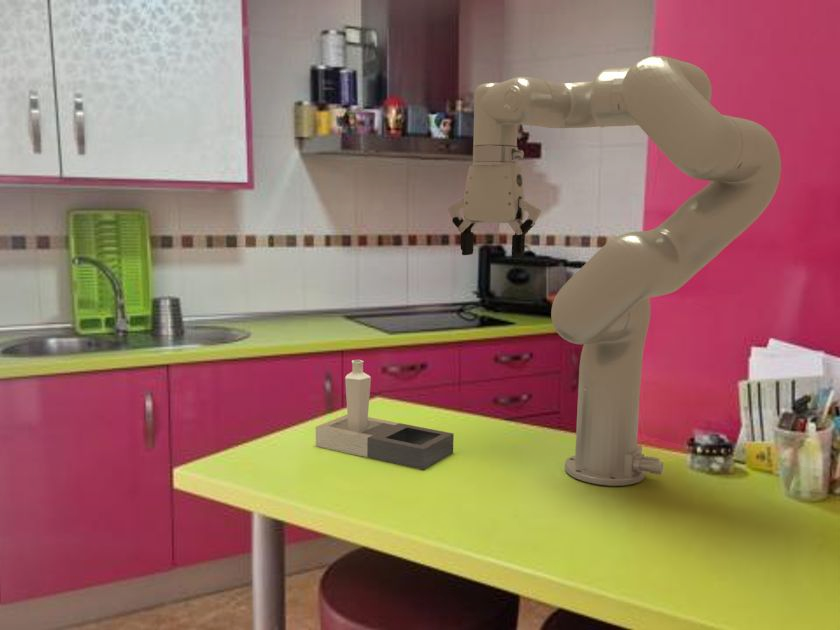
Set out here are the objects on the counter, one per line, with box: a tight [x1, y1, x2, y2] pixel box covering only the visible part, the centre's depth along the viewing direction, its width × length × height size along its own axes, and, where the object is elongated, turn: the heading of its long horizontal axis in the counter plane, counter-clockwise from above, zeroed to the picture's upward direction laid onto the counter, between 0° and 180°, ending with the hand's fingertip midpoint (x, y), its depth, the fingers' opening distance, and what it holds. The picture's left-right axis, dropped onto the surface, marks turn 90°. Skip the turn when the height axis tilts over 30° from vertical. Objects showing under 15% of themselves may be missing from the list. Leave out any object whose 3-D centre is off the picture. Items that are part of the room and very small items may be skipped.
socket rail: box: [315, 414, 455, 471], centre depth 134 cm, size 22×10×4 cm, turn 59°
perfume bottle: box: [344, 359, 372, 433], centre depth 136 cm, size 5×4×15 cm
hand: (491, 256), depth 136 cm, fingers open, 9 cm apart
